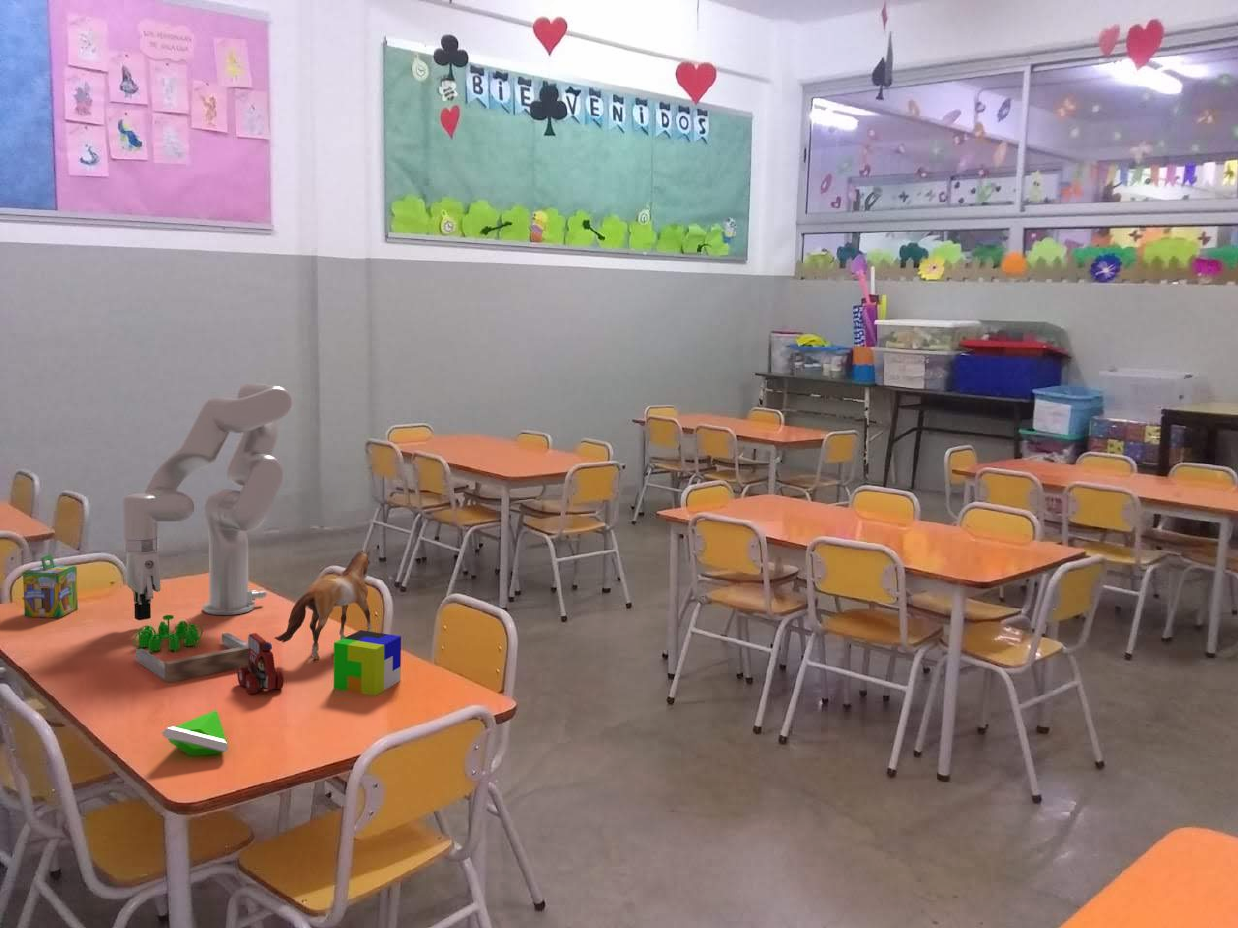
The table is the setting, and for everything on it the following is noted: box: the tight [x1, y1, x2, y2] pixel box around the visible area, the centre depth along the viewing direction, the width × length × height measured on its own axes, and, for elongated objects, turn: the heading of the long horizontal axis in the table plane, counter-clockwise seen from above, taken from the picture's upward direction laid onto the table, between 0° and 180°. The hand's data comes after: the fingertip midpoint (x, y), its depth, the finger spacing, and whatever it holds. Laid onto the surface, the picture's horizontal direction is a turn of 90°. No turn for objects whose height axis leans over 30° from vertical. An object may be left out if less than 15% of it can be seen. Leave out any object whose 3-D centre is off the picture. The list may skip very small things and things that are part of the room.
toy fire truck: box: [236, 632, 285, 695], centre depth 218 cm, size 7×12×10 cm, turn 37°
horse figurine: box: [273, 550, 372, 660], centre depth 245 cm, size 31×8×21 cm, turn 155°
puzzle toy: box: [333, 629, 402, 697], centre depth 222 cm, size 10×10×10 cm
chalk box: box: [22, 553, 79, 619], centre depth 263 cm, size 9×9×15 cm
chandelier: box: [133, 614, 203, 654], centre depth 244 cm, size 15×15×7 cm
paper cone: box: [162, 710, 229, 757], centre depth 194 cm, size 11×5×25 cm
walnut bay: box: [135, 632, 249, 683], centre depth 232 cm, size 21×18×4 cm
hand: (142, 618), depth 255 cm, fingers closed
